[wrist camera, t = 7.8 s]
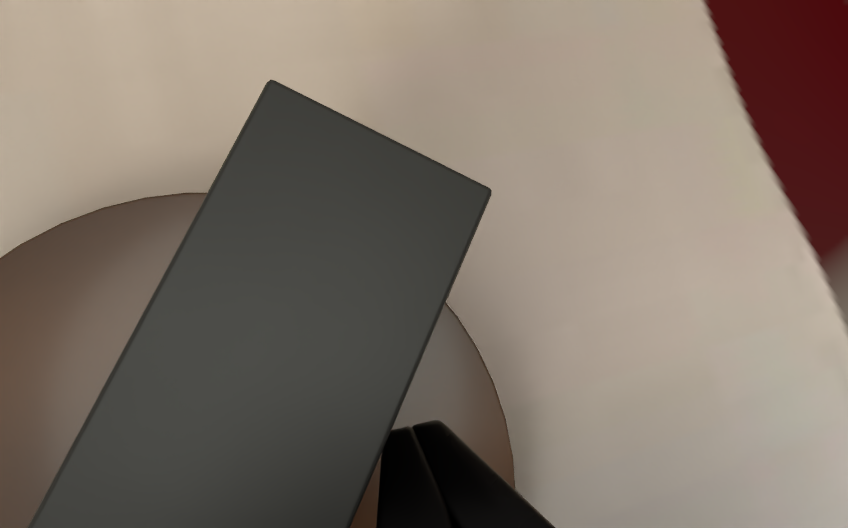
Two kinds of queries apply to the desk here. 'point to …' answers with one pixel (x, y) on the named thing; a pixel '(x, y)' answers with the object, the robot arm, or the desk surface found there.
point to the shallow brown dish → (113, 325)
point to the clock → (275, 334)
